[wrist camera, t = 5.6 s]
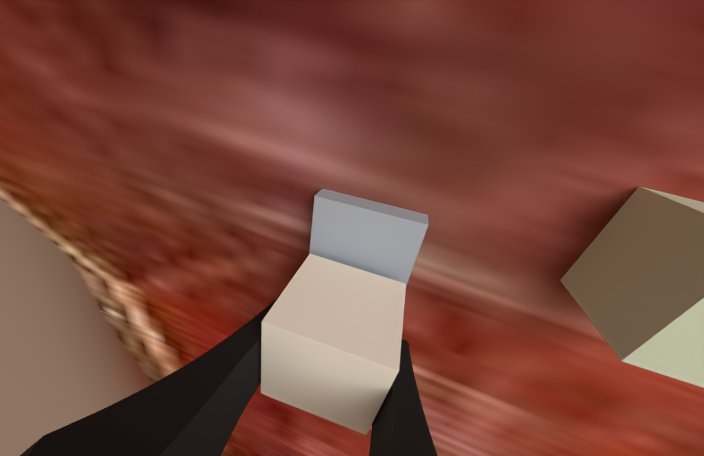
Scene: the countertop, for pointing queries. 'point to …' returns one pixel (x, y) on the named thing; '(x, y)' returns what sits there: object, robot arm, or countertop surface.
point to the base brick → (366, 234)
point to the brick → (333, 342)
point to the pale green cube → (648, 284)
